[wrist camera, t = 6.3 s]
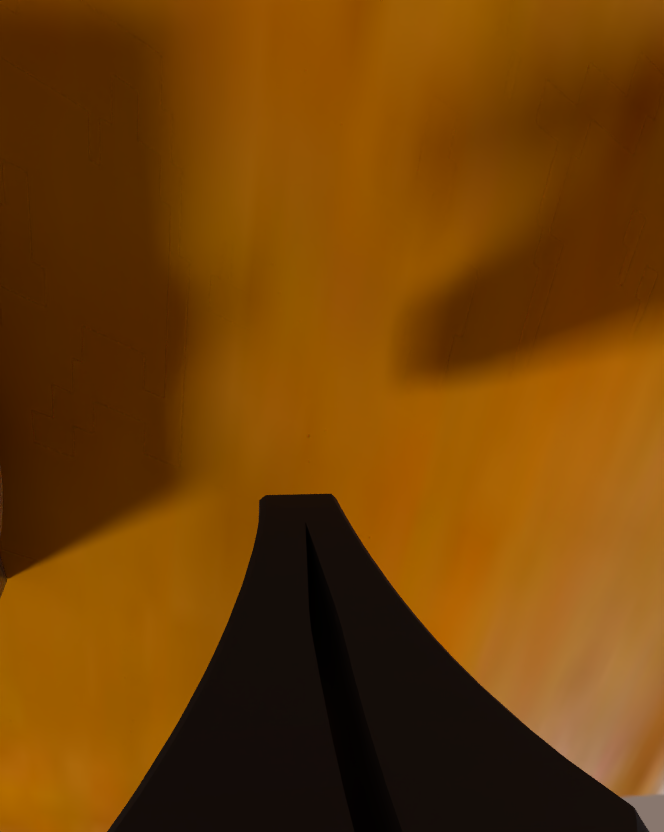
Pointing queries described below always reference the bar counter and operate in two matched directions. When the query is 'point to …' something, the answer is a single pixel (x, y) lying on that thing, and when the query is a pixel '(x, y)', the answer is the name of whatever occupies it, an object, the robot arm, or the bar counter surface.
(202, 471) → the bar counter surface
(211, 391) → the bar counter surface
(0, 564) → the block
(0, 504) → the lynch pin
